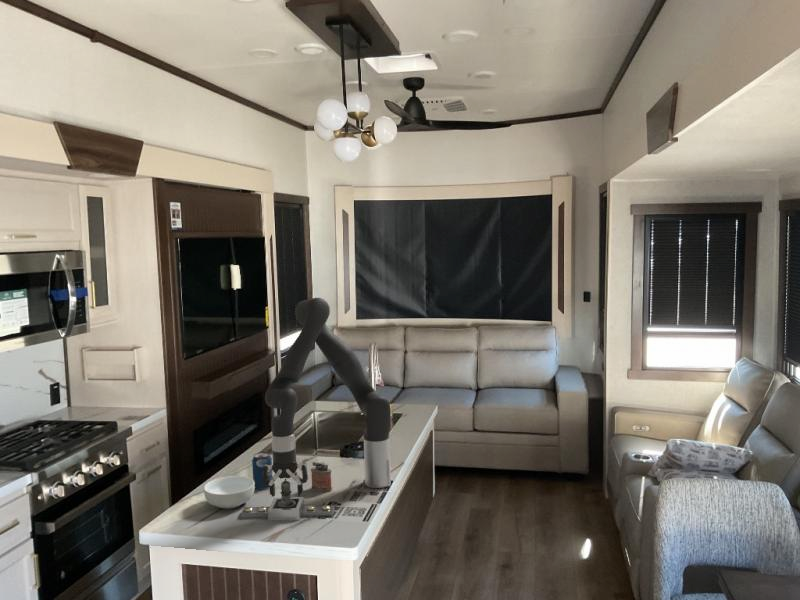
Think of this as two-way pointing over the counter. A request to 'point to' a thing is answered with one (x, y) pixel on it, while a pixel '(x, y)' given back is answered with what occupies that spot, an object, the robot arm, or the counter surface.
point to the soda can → (261, 469)
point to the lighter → (321, 477)
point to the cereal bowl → (229, 491)
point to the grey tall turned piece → (286, 496)
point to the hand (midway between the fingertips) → (286, 495)
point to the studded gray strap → (287, 511)
